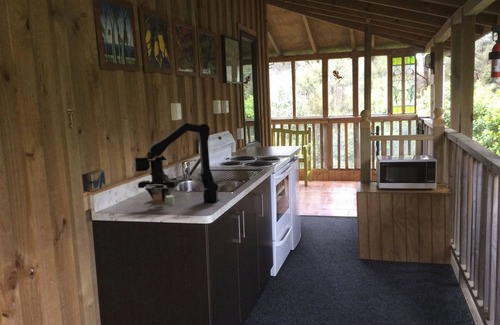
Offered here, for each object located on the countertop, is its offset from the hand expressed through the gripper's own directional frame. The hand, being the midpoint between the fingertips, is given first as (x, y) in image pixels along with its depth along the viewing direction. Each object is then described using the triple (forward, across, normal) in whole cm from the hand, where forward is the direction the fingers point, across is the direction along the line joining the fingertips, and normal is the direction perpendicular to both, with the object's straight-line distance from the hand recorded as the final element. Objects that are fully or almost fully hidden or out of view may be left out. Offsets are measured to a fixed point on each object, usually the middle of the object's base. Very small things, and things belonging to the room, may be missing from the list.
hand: (159, 201), depth 219 cm
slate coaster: (+3, 0, 0) cm, 3 cm away
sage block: (+3, -1, -9) cm, 10 cm away
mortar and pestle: (+3, +6, -20) cm, 21 cm away
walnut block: (+1, 0, 0) cm, 1 cm away
